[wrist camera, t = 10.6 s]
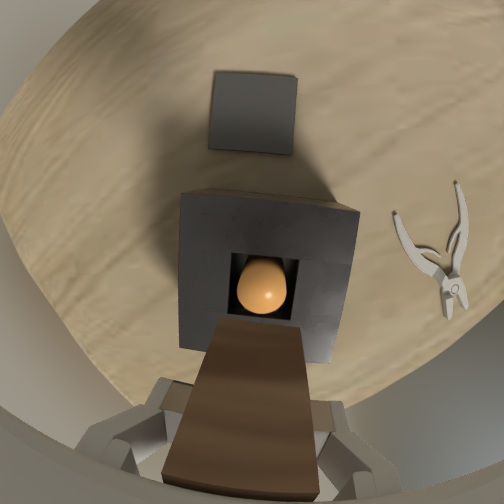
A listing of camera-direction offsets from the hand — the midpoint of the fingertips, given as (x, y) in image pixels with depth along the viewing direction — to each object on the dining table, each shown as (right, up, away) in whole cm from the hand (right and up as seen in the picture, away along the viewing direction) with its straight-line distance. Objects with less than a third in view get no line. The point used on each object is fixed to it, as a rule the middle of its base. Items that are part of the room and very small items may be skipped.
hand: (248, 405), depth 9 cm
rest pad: (0, +19, +17) cm, 25 cm away
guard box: (+1, +5, +20) cm, 21 cm away
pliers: (+22, +5, +19) cm, 30 cm away
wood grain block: (0, +1, +3) cm, 4 cm away
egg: (+1, +4, +18) cm, 18 cm away
